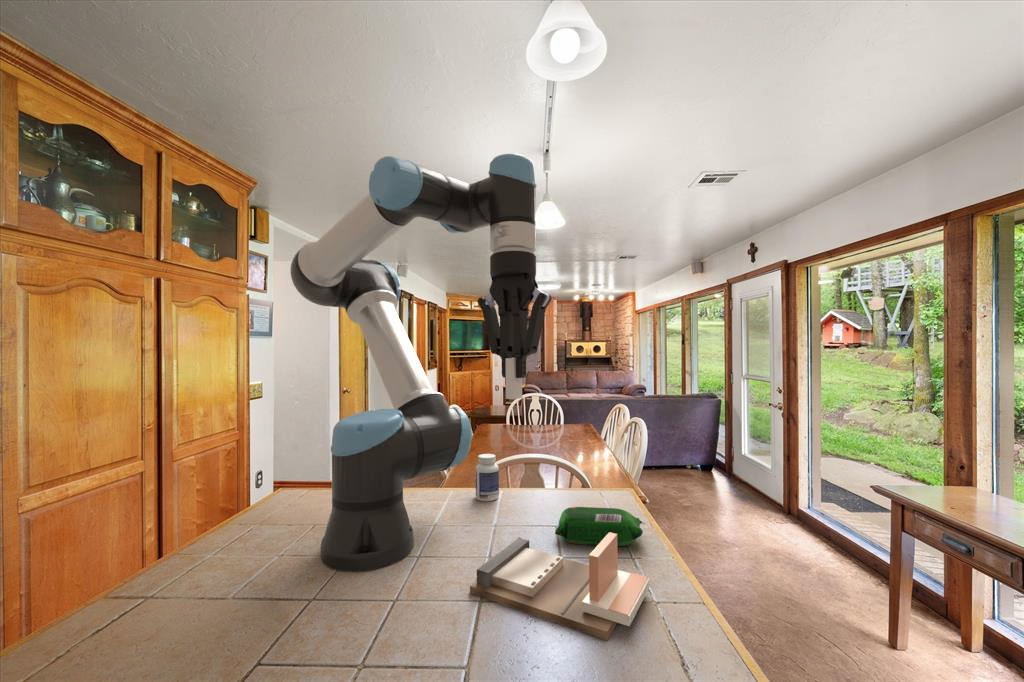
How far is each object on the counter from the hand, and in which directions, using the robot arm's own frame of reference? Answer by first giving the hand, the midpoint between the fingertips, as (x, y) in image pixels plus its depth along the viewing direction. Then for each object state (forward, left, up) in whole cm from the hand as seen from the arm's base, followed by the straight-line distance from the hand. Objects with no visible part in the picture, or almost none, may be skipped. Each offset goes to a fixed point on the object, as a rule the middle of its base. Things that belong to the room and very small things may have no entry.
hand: (514, 398), depth 71 cm
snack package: (+9, +15, -27) cm, 32 cm away
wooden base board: (+9, -4, -26) cm, 28 cm away
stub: (+18, -4, -25) cm, 31 cm away
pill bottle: (-21, +23, -27) cm, 41 cm away
